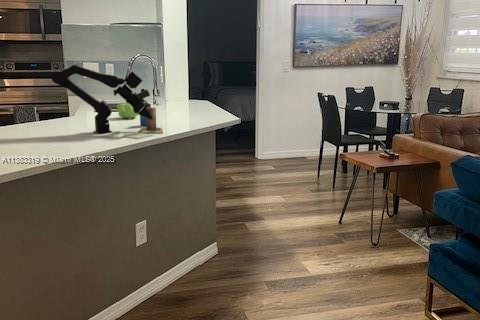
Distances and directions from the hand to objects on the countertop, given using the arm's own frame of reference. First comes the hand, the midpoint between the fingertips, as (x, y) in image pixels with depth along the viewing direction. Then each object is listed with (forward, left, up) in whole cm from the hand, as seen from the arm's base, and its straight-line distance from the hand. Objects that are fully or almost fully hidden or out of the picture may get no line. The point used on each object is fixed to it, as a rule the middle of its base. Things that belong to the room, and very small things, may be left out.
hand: (152, 117), depth 230 cm
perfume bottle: (-14, +13, -8) cm, 21 cm away
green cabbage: (-41, +27, -8) cm, 50 cm away
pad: (+2, -14, -7) cm, 16 cm away
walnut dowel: (0, 0, -7) cm, 7 cm away
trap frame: (0, 0, -7) cm, 7 cm away
